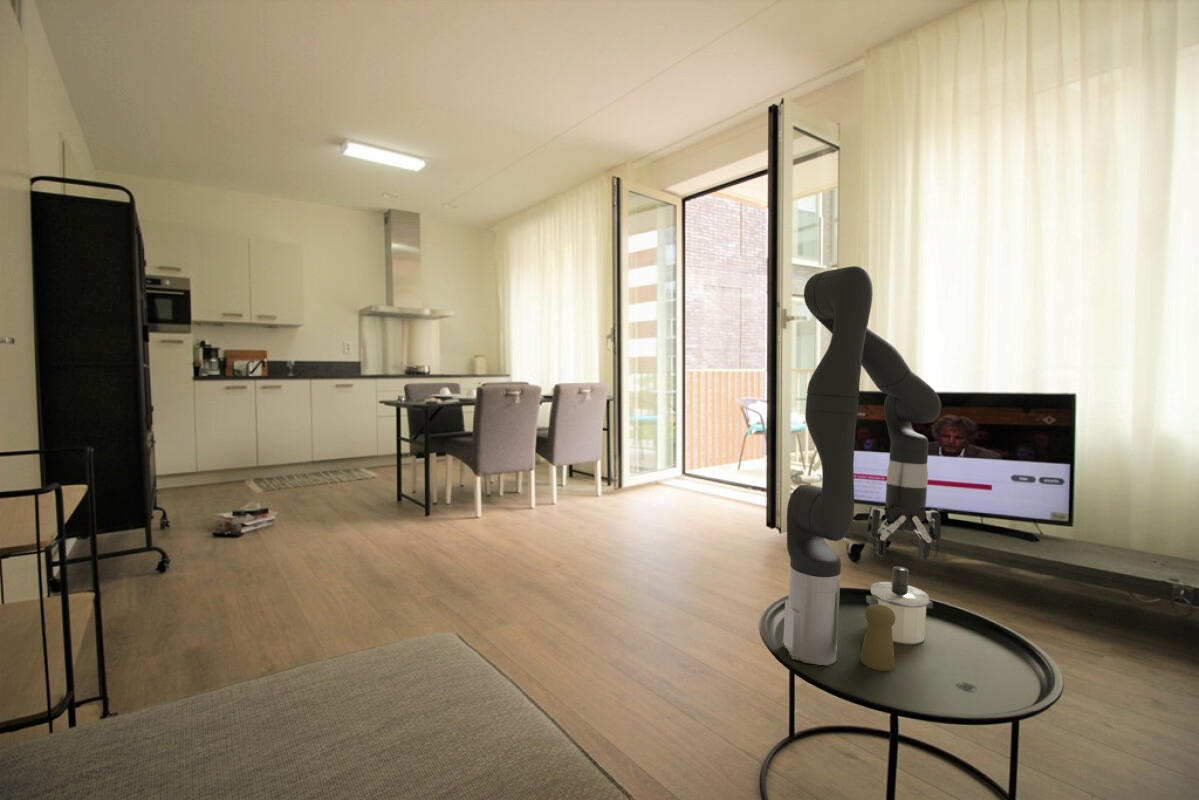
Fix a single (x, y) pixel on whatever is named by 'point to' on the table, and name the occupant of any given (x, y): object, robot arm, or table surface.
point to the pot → (906, 621)
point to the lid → (900, 590)
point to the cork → (878, 638)
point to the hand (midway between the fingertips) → (901, 557)
